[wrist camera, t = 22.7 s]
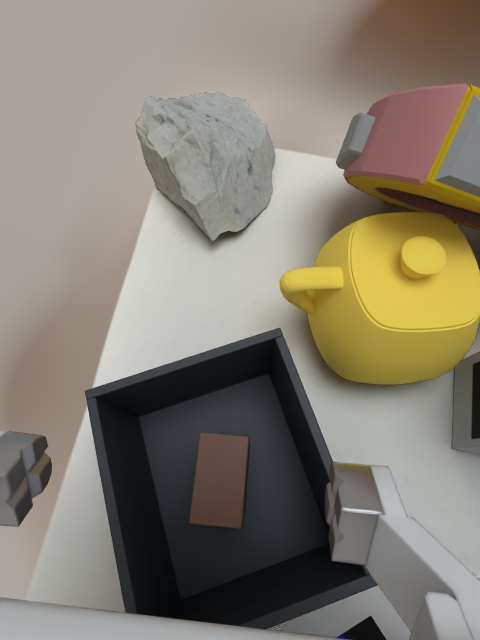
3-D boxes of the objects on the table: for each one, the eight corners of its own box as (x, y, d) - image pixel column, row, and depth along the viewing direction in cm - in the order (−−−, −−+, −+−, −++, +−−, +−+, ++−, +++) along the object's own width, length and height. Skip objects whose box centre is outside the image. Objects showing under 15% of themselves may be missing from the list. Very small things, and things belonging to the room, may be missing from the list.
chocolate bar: (250, 445, 33) (249, 436, 23) (245, 511, 31) (241, 529, 21) (214, 442, 33) (199, 431, 23) (207, 507, 31) (188, 523, 22)
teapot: (506, 386, 34) (635, 344, 23) (278, 397, 34) (291, 360, 23) (467, 254, 39) (558, 163, 27) (268, 264, 39) (274, 178, 28)
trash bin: (339, 546, 30) (381, 584, 20) (176, 609, 29) (137, 680, 19) (272, 366, 36) (280, 327, 26) (132, 413, 34) (84, 390, 25)
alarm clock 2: (524, 269, 40) (327, 202, 44) (575, 179, 38) (361, 114, 41) (710, 320, 20) (312, 187, 23) (857, 130, 17) (378, 8, 20)
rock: (312, 158, 44) (321, 96, 36) (223, 258, 40) (212, 211, 33) (211, 102, 48) (200, 35, 40) (121, 187, 44) (91, 131, 37)
